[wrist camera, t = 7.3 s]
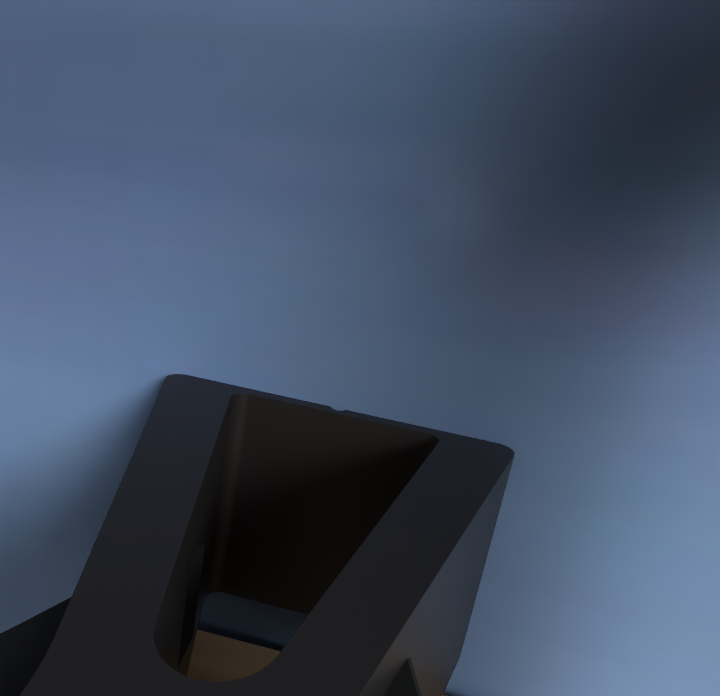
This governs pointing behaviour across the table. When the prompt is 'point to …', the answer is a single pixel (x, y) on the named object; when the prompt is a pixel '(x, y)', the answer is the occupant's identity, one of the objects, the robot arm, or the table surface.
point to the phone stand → (283, 547)
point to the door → (226, 658)
